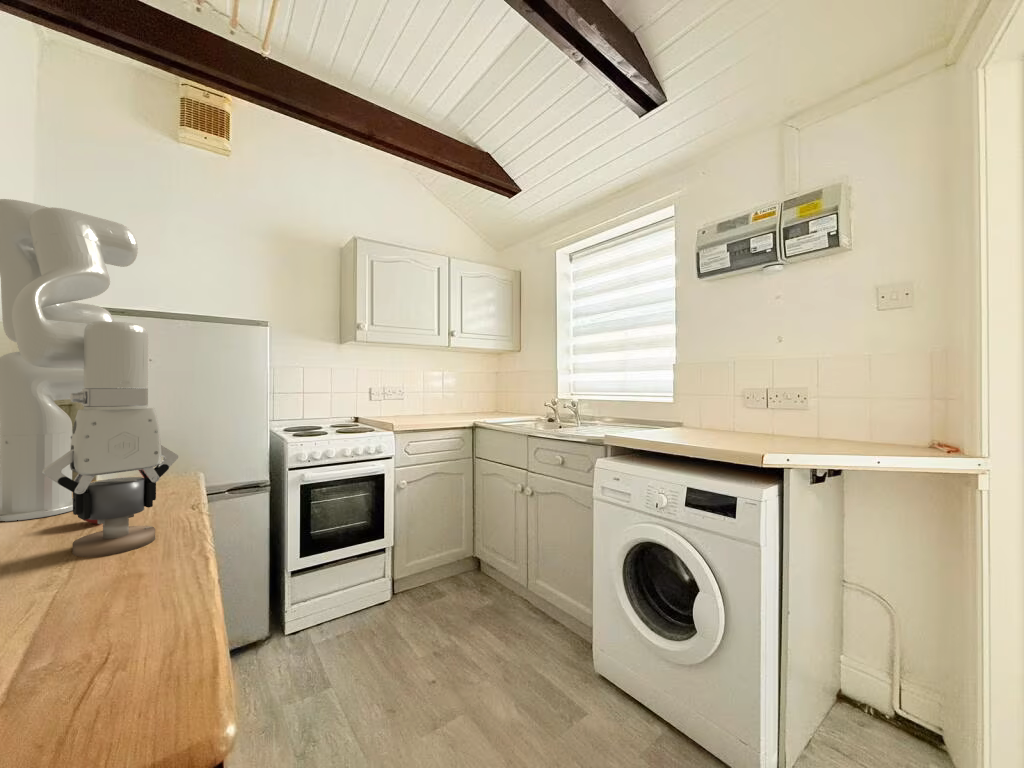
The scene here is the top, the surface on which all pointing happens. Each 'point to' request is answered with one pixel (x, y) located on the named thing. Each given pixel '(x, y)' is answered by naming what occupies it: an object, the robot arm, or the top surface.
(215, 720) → the top surface
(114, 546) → the post base
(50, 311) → the robot arm
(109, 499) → the grey striped cylinder
